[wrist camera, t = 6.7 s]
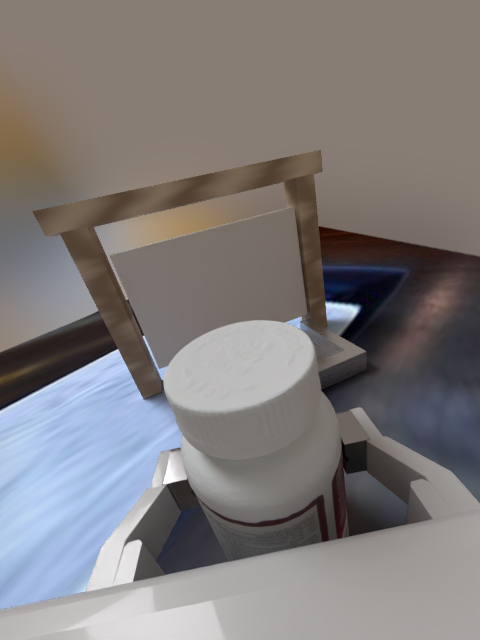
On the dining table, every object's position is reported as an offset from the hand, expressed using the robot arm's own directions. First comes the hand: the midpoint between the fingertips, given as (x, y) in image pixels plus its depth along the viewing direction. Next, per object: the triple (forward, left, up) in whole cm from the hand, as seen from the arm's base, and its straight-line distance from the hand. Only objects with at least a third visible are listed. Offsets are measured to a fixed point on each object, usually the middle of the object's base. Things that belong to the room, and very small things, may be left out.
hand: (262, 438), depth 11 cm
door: (-10, +15, -4) cm, 18 cm away
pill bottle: (0, -1, -6) cm, 6 cm away
